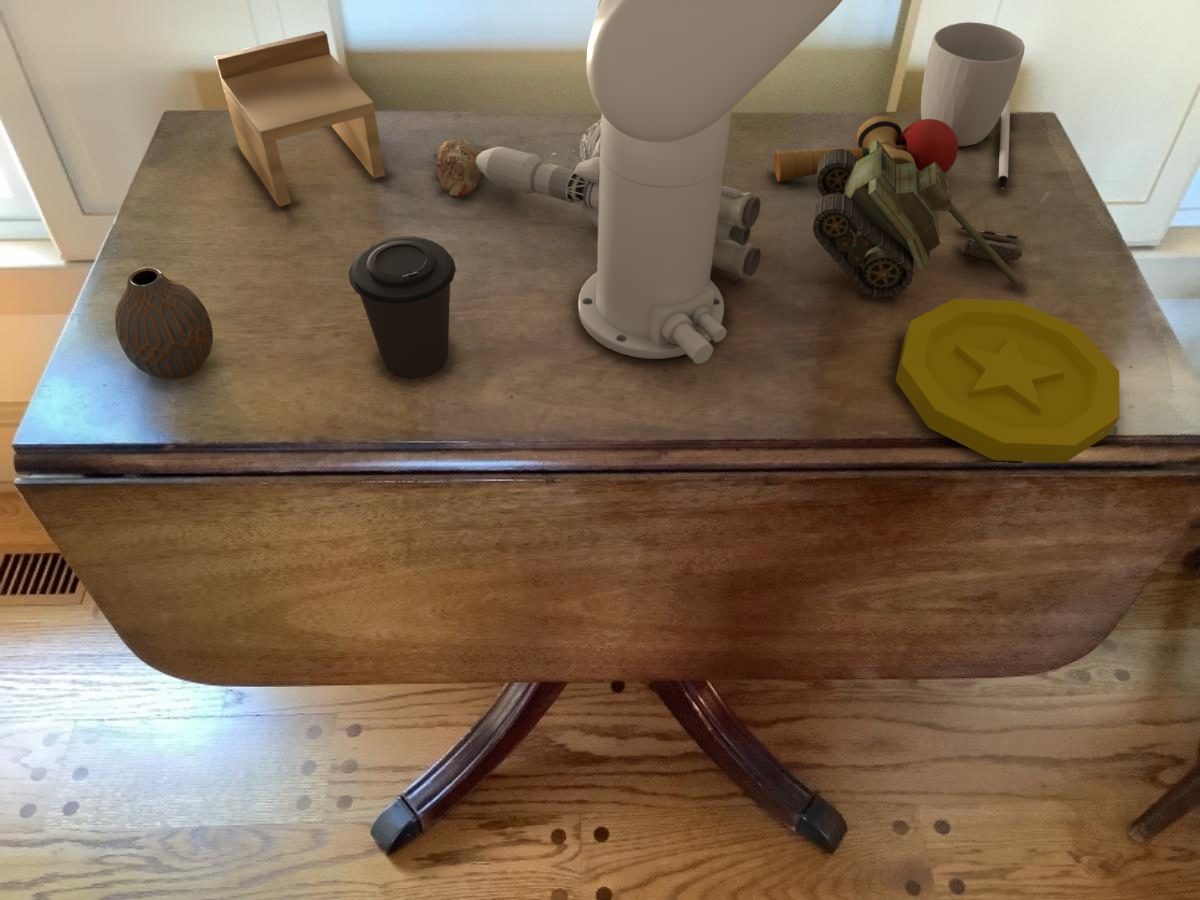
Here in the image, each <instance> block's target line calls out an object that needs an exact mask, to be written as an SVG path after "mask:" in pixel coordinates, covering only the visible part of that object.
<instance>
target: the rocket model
mask: <svg viewBox="0 0 1200 900" xmlns="http://www.w3.org/2000/svg"><path fill="white" fill-rule="evenodd" d="M476 163H477V166H478V169H479V170H480V171H481V172H482V174H483V176H485V177H486V179H487V180H488V181H489V182H491V183H492V184H495V185H497V186H500V187H504V188H507V189H510V190H514V191H517V192H520V193H524V194H526V195H529V194H538V195H544V196H547V197H552V198H555V199H559V200H562V201H565V202H569V203H571V204H574V203H575V204H579V205H581V212H582V214H583V215H584V216H585V218H587V220H589V221H590V222H591V223H592V224H593V225H594V226H596V228H598V217H599V171H600V157H595V158H592V159H590V158H588V159H587V160H583V161H580V162H579V163H578V164H577V165H576V166H575V168H574V169H572V168H569V167H568V168H567V167H564V166H560V165H557V164H553V163H551V162H549V161H545V160H543V159H542V158H541V157H539V155H537V154H534V153H530V152H526V151H523V150H519V149H516V148H512V147H507V146H504V145H503V146H496V147H491V148H489V149H485V150H484V151H483V152H481V153H480V154H479V155H478V156H477V158H476ZM755 195H756V194H755V193H754V192H753V191H751V192H749V191H748V192H742V191H740V190H739V189H737V188H734V187H731V186H726V185H723V184H722V189H721V197H720V205H719V212H718V220H717V228H716V236H715V243H714V251H713V259H712V267H713V268H716V269H720V270H723V271H726V272H729V273H733V274H736V275H738V276H739V277H741V278H745V277H747V276H748V277H752V276H753V275H754V274H755V273H756V271H757V269H758V268H759V265H760V261H761V256H762V255H761V254H762V252H761V248H759V247H756V245H755V243H754V242H748V241H749V240H750V236H751V228H752V227H753V226H754V225H755V223H756V222H757V220H758V218H759V215H760V212H761V211H760V210H761V199H760V197H758V196H755ZM732 240H733V241H732Z"/></svg>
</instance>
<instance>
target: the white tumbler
mask: <svg viewBox="0 0 1200 900" xmlns="http://www.w3.org/2000/svg"><path fill="white" fill-rule="evenodd" d="M1025 49H1026V48H1025V44H1024V41H1023V40H1022V38H1020V37H1019V36H1018V35H1016V34H1014V33H1013V32H1012V31H1009V30H1007V29H1005V28H1003V27H999V26H996V25H992V24H988V23H983V22H969V21H966V22H957V23H953V24H948V25H947V26H944V27H942V28H940V29H939V30H937V31H936V32H935V34H934V36H933V37H932V40H931V43H930V46H929V50H928V54H927V59H926V63H925V69H924V73H923V79H922V85H921V94H920V95H921V97H920V120H923V119H935V120H939V121H941V122H944V123H945V124H947V125H948V126H949V127H950V128H951V129H952V130H953V131H954V133H955V135H956V138H957V142H958V147H968V146H972V145H976V144H979V143H981V142H983V140H984V139H985V138H987V136H988V135H990V133H991V132H992V130H993V129H994V128H995V126H996V124H997V123H998V121H999V119H1000V118H1001V114H1002V112H1003V110H1004V108H1005V106H1006V103H1007V101H1008V99H1009V98H1010V96H1011V93H1012V91H1013V89H1014V87H1015V84H1016V81H1017V79H1018V75H1019V71H1020V68H1021V64H1022V62H1023V58H1024V54H1025Z"/></svg>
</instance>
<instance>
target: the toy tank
mask: <svg viewBox="0 0 1200 900" xmlns="http://www.w3.org/2000/svg"><path fill="white" fill-rule="evenodd" d="M816 185H817V189H818V192H819V193H820V194H821V196H822V198H820V199H819V200H818V201H817V203H816V205H815V206H814V213H813V224H812V231H813V235H814V237H815V239H816V240H817V242H818V243H819V244H820V246H821V247H823V249H824V250H825V251H826V252H827V253H828V255H829V256H830V257H831V258H832V259H833V261H834V262H835V263H836V264H837V265H838V266H839V268H841V270H843V272H844V273H845V274H846V275H847V277H848V278H849V279H850V280H851V282H853V284H855V286H856V287H857V288H858V289H859V290H860V292H862V294H864V295H866V296H869V297H871V298H877V299H884V298H891V297H894V296H896V295H899V294H901V293H902V292H903V291H905V290H906V289H907V288H908V287H909V285H911V283H912V281H913V278H914V263H915V266H916V268H917V271H920V270H922V269H924V268H926V267H927V264H928V262H929V261H930V255H931V251H933V250H934V249H936V248H937V247H938V246H940V245H941V238H940V237H941V236H940V235H941V234H940V221H939V220H940V219H939V212H940V211H941V212H947V211H948V212H949V213H950V214H951V216H952V217H953V218H954V219H955V220H956V222H958V224H959V225H960V226H961V228H962V227H963V228H964V229H965V230H964V231H965V232H967V234H968V235H969V236H970V237H971V238H972V239H974V240H975V241H976V243H977V244H978V245H979V246H980V247H981V248H982V249H983V250H984V252H985V253H986V254H987V255H988V256H989V257H990V258H991V260H990V261H992V262H993V263H994V264H995V266H997V268H998V269H999V270H1000V271H1001V272H1002V273H1003V274H1004V276H1005V277H1006V278H1007V279H1008V280H1009V281H1010V282H1011V283H1012V284H1013V286H1015V287H1016V286H1019V285H1020V284H1021V279H1020V278H1019V277H1018V276H1017V275H1016V274H1015V272H1014V271H1012V269H1011V267H1009V266H1008V265H1007V264H1006V263H1005V260H1004V261H1003V260H1002V259H1001V258H1000V257H999V256H998V255H997V254H996V252H995V251H994V250H993V249H992V248H991V247H990V246H989V244H988V243H987V242H986V241H985V240H986V239H984V237H983V236H982V235H981V234H980V233H979V232H977V231H976V230H977V229H976V228H975V227H974V226H973V225H972V224H971V223H970V221H969V220H968V219H967V218H966V217H965V216H964V215H963V214H962V212H961V211H960V210H959V209H958V208H957V207H956V205H955V204H954V203H953V202H952V191H951V185H950V179H949V178H948V176H947V175H946V173H945V174H944V173H943V171H942V170H941V169H940V167H939V166H938V165H937V163H936V162H934V163H932V164H931V165H929V166H928V167H926V168H924V169H923V170H921V171H919V170H918V169H917V168H916V166H915V165H914V164H913V163H910V164H900V165H897V164H896V163H895V161H894V160H893V159H892V158H891V156H890V155H889V154H888V152H887V151H886V150H885V149H884V147H883V146H882V145H881V144H880V142H879V141H878V140H877V139H875V140H874V141H872V142H871V143H870V154H869V155H867V156H865V157H863V158H862V159H860V160H858V159H857V158H856V157H855V156H854V154H852V153H851V152H850V151H848V150H844V149H836V150H831V151H829V152H828V153H826V154H825V155H824V156H823V157H822V158H821V160H820V162H819V167H818V174H817V179H816ZM975 229H976V230H975ZM855 236H856V237H855ZM855 239H856V240H855ZM854 240H855V242H854ZM861 265H862V266H861Z"/></svg>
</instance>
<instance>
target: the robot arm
mask: <svg viewBox="0 0 1200 900" xmlns="http://www.w3.org/2000/svg"><path fill="white" fill-rule="evenodd" d="M842 2H843V0H599V2H598V7H597V11H596V14H595V17H594V21H593V24H592V28H591V31H590V35H589V39H588V42H587V43H588V44H587V50H586V61H585V62H586V63H585V64H586V66H585V67H586V78H587V83H588V87H589V91H590V94H591V97H592V99H593V102H594V104H595V105H596V106H597V109H598V111H599V112H600V114H601V118H600V120H601V121H600V122H601V147H600V171H599V217H598V227H597V262H596V264H597V265H596V266H597V267H596V268H597V269H596V271H595V272H594V273H593V274H592V275H591V276H589V277H588V278H587V279H586V281H585V282H584V284H583V285H582V286H581V289H580V292H579V295H578V300H577V301H578V302H577V303H578V304H577V305H578V306H577V307H578V317H579V320H580V322H581V325H582V326H583V328H584V329H585V331H586V332H587V333H588V335H589V336H591V337H592V338H593V339H594V340H595V341H596V342H597V343H599V344H601V345H602V346H603V347H605V348H607V349H609V350H612V351H614V352H616V353H619V354H622V355H625V356H629V357H632V358H640V359H648V360H652V359H653V360H660V359H661V360H662V359H670V358H676V357H677V358H678V357H680V356H683V355H686V356H687V357H688V358H689V359H691V360H692V362H693V363H695V364H697V365H701V364H704V363H706V362H707V361H708V360H709V359H710V358H711V356H712V355H713V353H714V346H713V344H711V343H710V342H711V341H713V342H715V343H719V342H721V341H723V340H724V339H725V337H726V336H727V334H728V330H727V329H726V327H724V325H722V324H723V319H724V315H725V302H724V298H723V295H722V293H721V291H720V290H719V287H718V286H717V285H716V284H715V283H714V282H713V281H712V280H711V273H712V267H713V266H712V259H713V251H714V243H715V236H716V228H717V220H718V212H719V205H720V197H721V189H722V185H723V181H724V174H725V173H724V172H725V165H726V160H727V154H728V153H727V152H728V147H729V138H730V129H731V122H732V114H733V108H734V107H735V106H736V105H737V104H739V102H741V100H742V99H744V98H745V97H746V96H747V95H748V94H749V93H750V92H751V91H752V90H753V89H754V88H755V87H756V86H757V85H759V83H761V82H762V81H763V80H764V79H765V78H766V77H767V76H768V75H769V74H770V73H771V72H772V71H773V70H774V69H775V68H776V67H777V66H778V65H779V64H780V63H782V61H784V59H786V58H787V56H789V55H790V54H791V53H792V52H793V51H794V50H795V49H796V48H797V47H798V46H800V44H801V43H802V42H803V41H805V40H806V39H807V37H809V36H810V35H811V34H812V33H813V32H814V31H815V30H816V29H817V28H818V27H819V26H820V25H821V24H822V23H823V22H824V21H825V20H826V19H827V18H828V17H829V16H830V15H831V14H832V13H833V12H834V11H835V10H836V8H838V7H839V6H840V5H841V3H842Z"/></svg>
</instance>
